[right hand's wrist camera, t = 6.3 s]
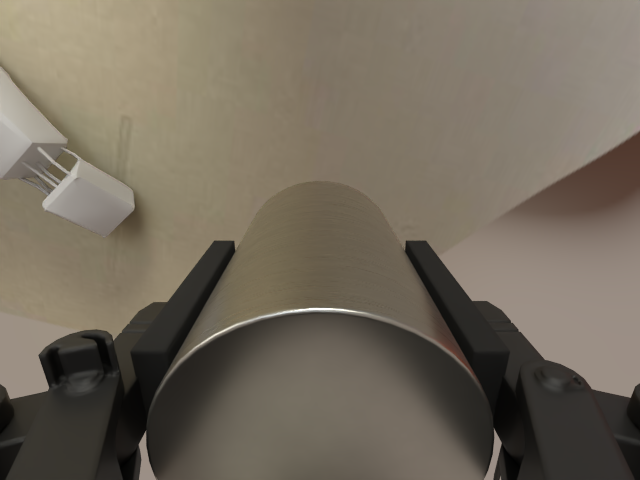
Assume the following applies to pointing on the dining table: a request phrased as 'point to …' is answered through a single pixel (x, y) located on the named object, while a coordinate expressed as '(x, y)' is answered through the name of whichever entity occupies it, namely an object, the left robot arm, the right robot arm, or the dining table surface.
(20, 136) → the white segmented block model
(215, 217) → the dining table surface
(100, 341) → the right robot arm
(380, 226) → the tin
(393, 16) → the dining table surface
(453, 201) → the dining table surface
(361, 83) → the dining table surface
